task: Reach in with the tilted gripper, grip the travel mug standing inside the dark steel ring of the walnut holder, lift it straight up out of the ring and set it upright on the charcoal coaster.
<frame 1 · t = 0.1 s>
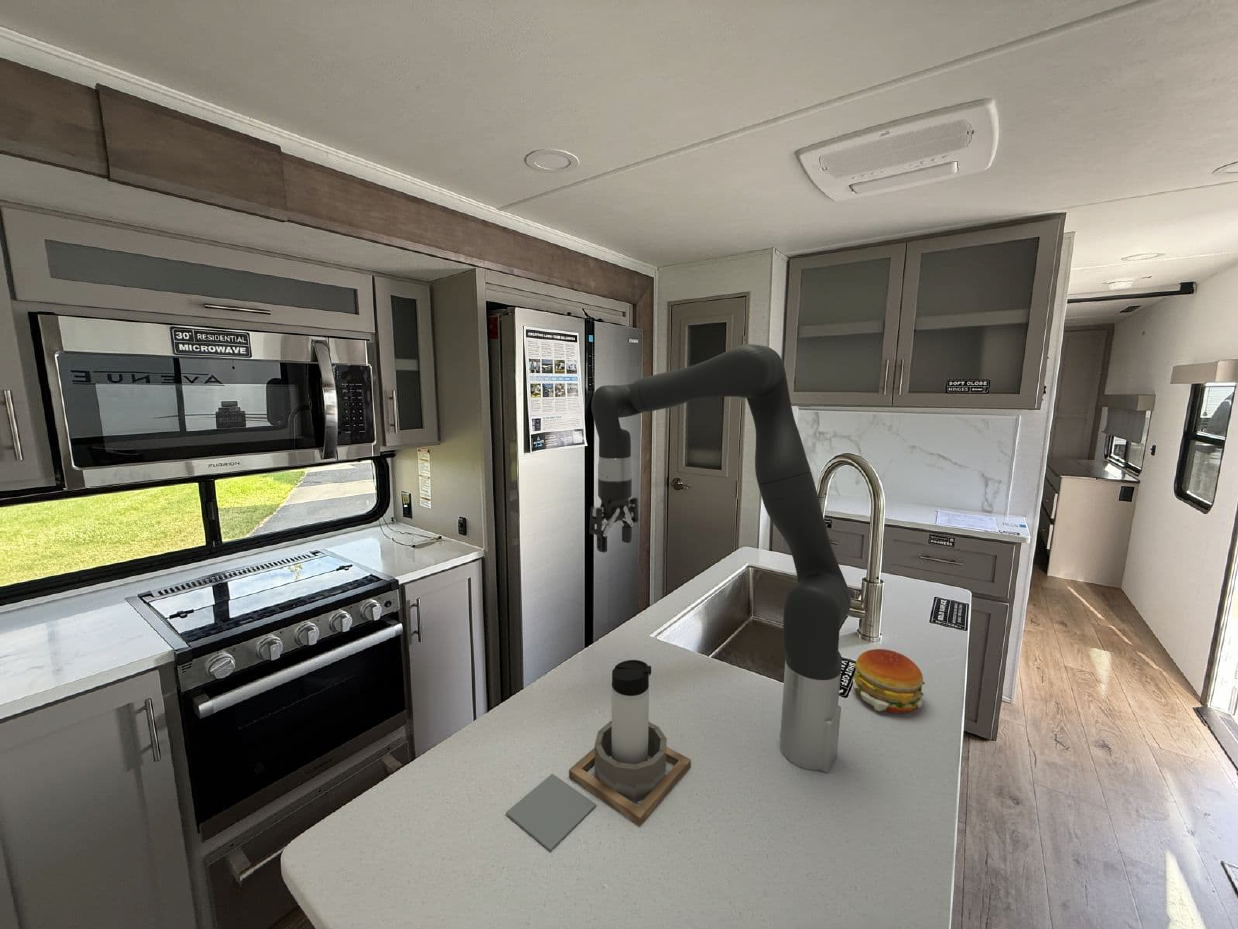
hand: (614, 546, 114), 29 cm above the worktop, tool pointing down, fingers open, 8 cm apart
travel mug: (630, 773, 87), resting in ring holder
burger: (885, 700, 107), on the worktop
coaster: (551, 810, 79), on the worktop
ring holder: (630, 772, 87), on the worktop
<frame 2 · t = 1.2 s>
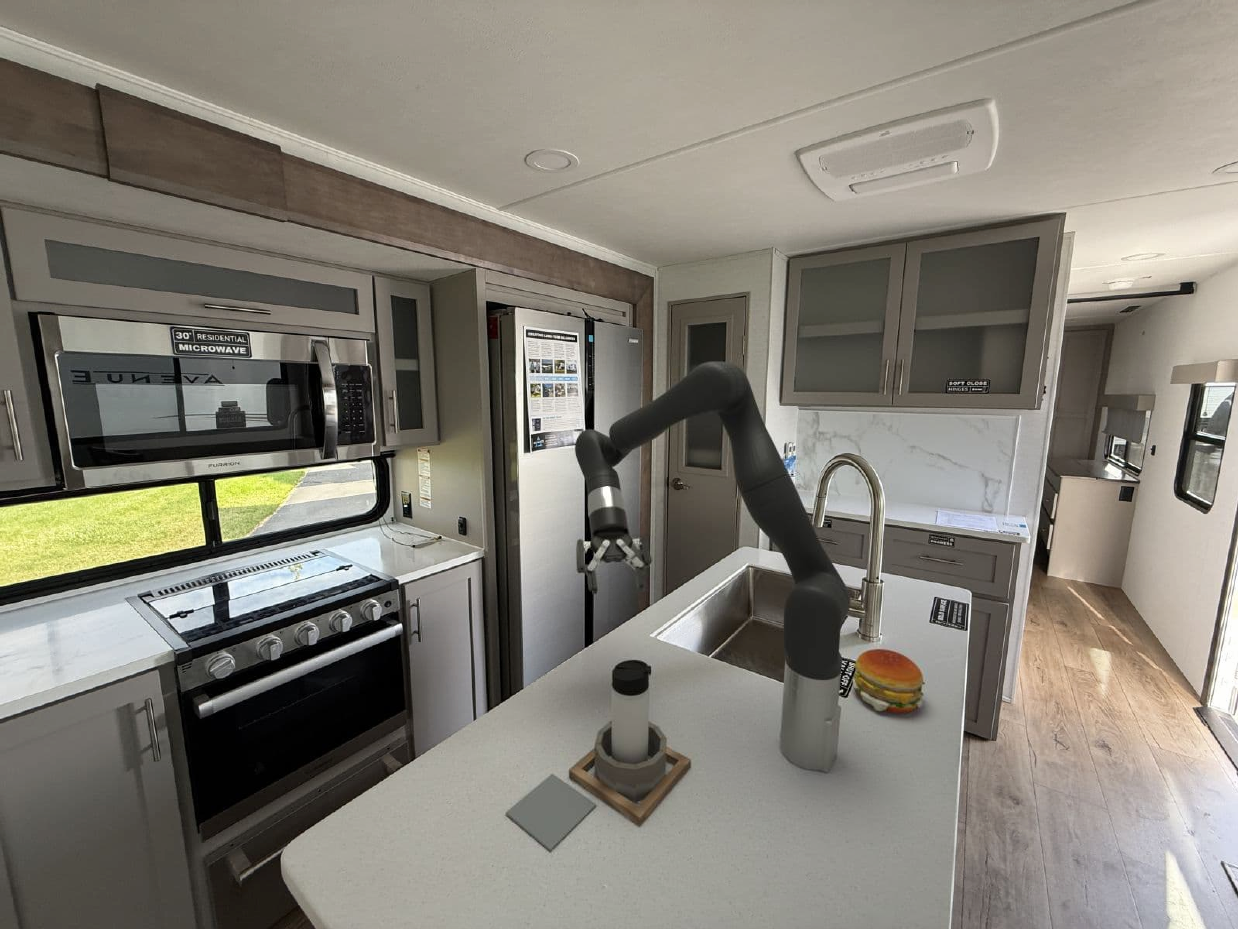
hand: (618, 590, 93), 28 cm above the worktop, tool tilted 45°, fingers open, 8 cm apart
nothing on the worktop moved.
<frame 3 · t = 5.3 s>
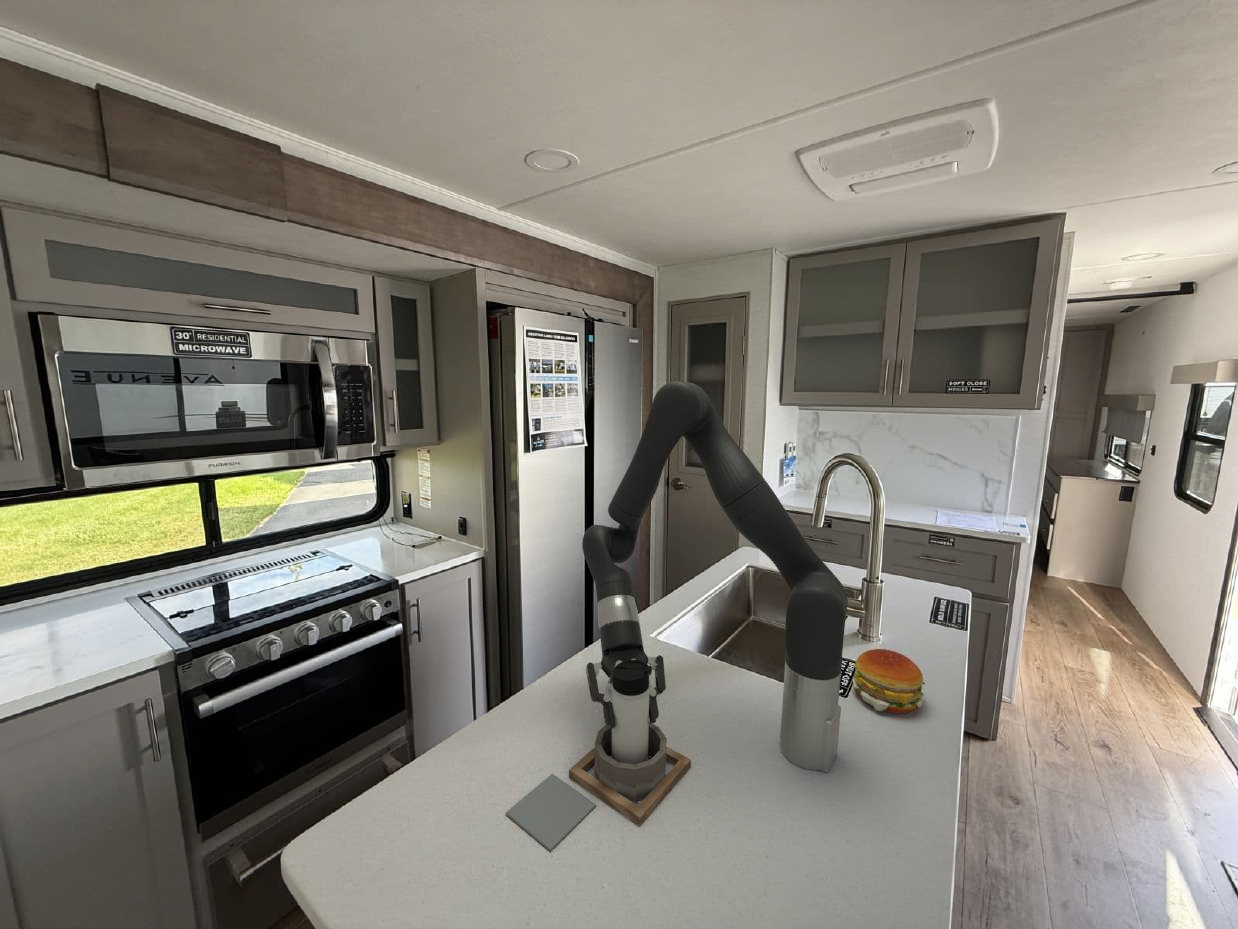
hand: (632, 725, 84), 10 cm above the worktop, tool tilted 45°, fingers closed on travel mug, 6 cm apart
travel mug: (630, 773, 87), resting in ring holder, touching gripper
everything else where it was.
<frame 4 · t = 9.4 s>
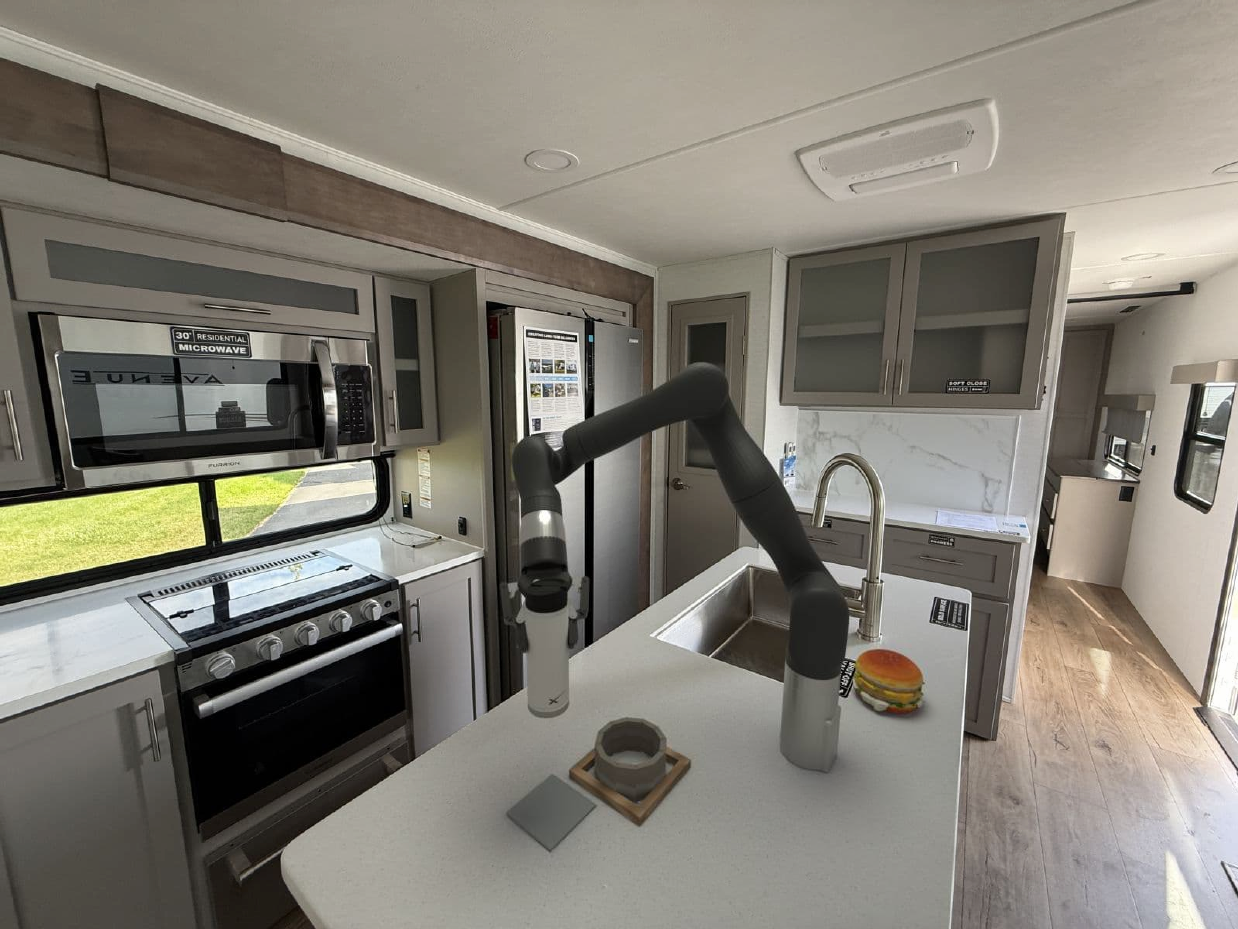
hand: (548, 649, 73), 28 cm above the worktop, tool tilted 45°, fingers closed on travel mug, 6 cm apart
travel mug: (549, 706, 77), point 18 cm above the worktop, touching gripper
everything else where it was.
when the fingers open (12 cm above the worktop, at t = 13.0 s): travel mug drops 1 cm, resting on coaster.
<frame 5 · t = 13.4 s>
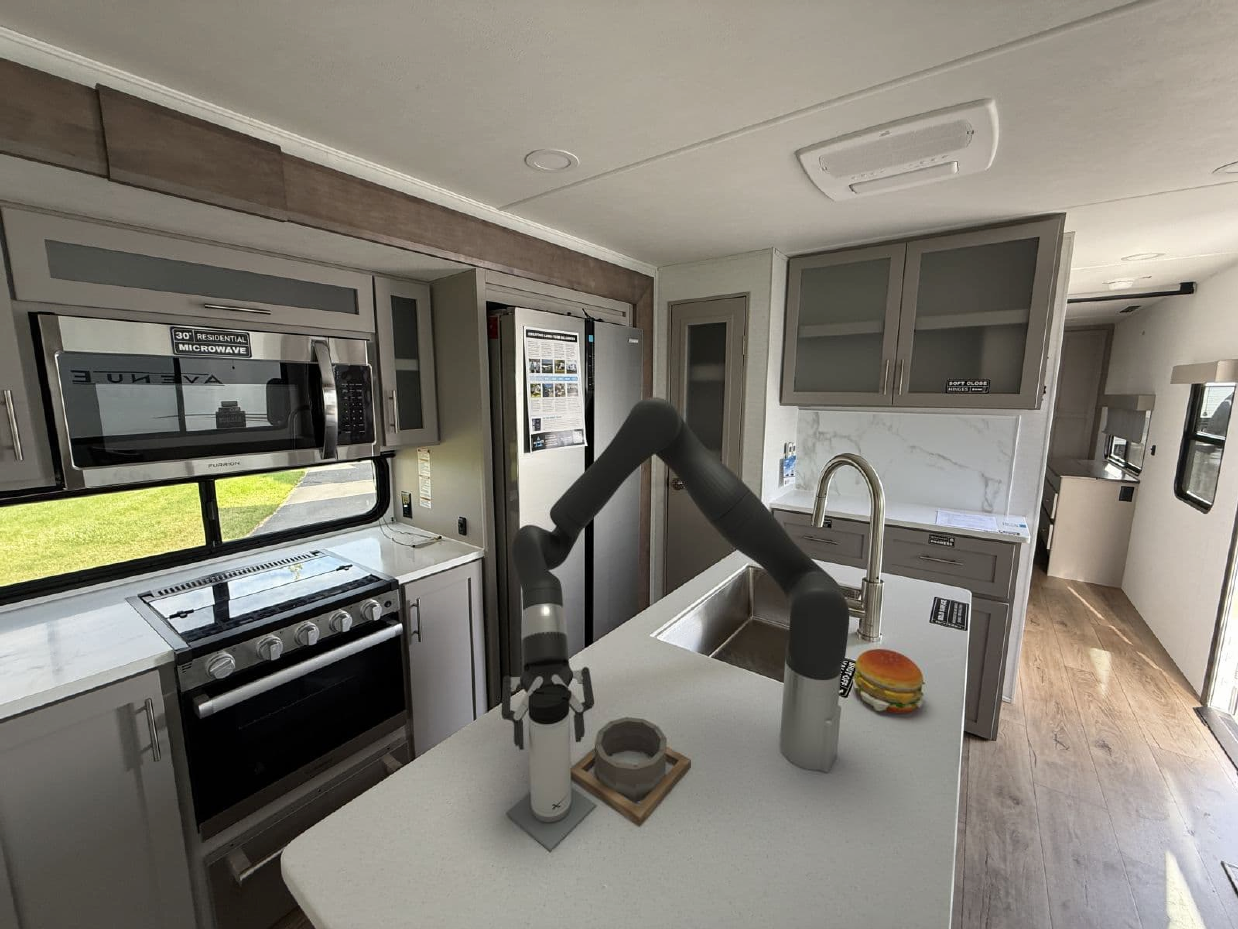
hand: (550, 745, 76), 13 cm above the worktop, tool tilted 45°, fingers open, 8 cm apart
travel mug: (552, 807, 80), resting on coaster
everything else where it was.
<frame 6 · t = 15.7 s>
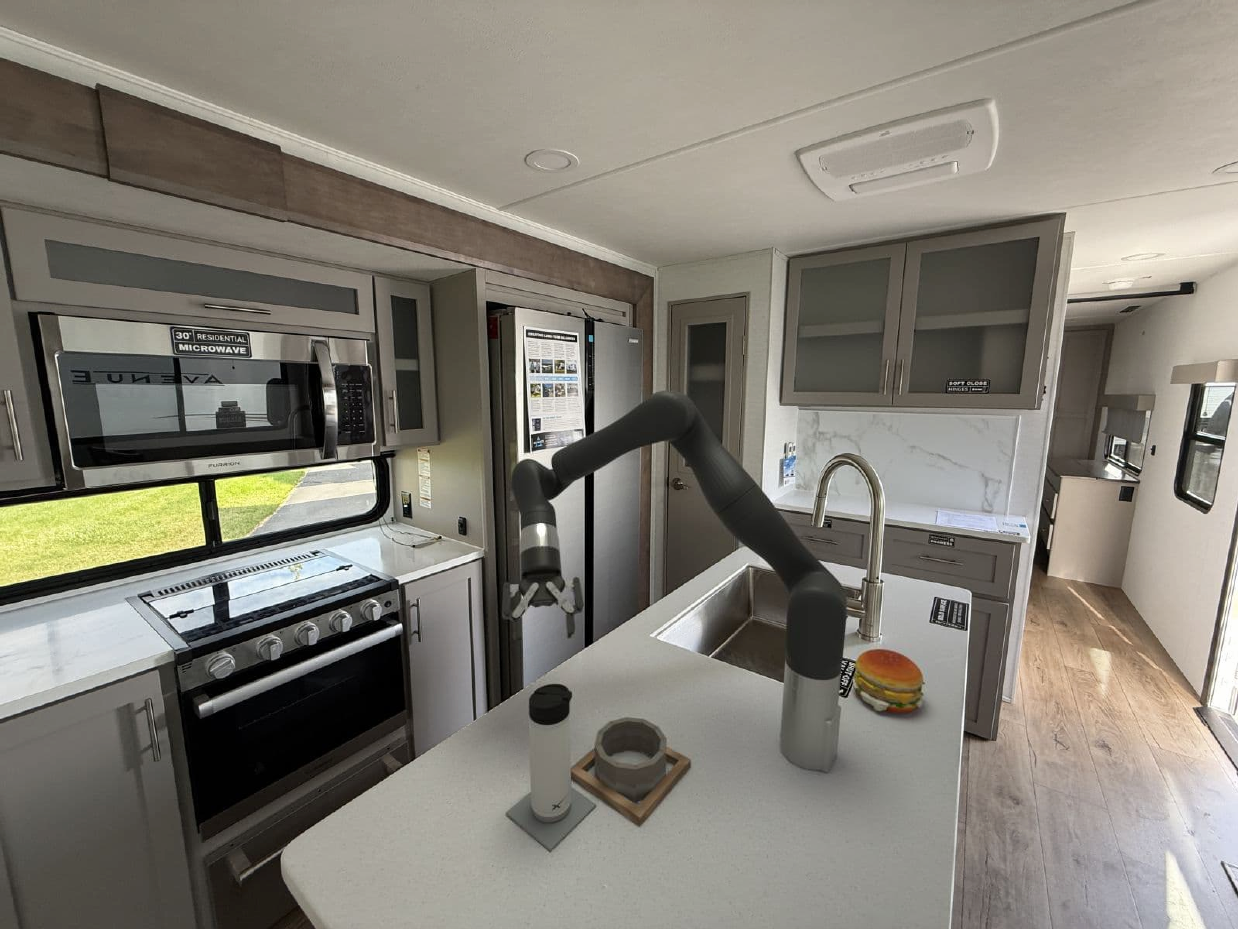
hand: (544, 639, 87), 23 cm above the worktop, tool tilted 45°, fingers open, 8 cm apart
nothing on the worktop moved.
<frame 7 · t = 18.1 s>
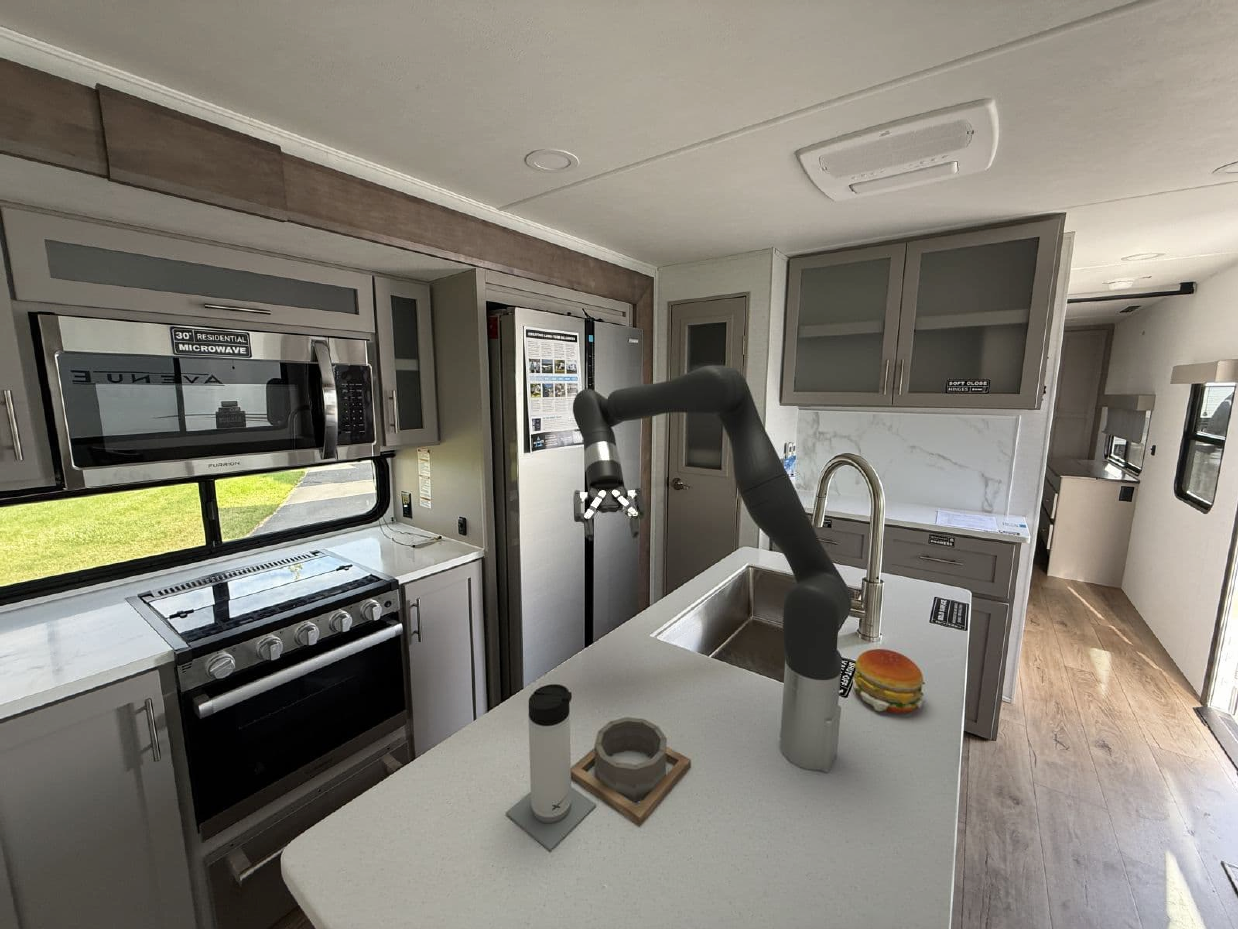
hand: (613, 537, 97), 37 cm above the worktop, tool tilted 45°, fingers open, 8 cm apart
nothing on the worktop moved.
at the end: travel mug inside the target area on the coaster (0.3 cm from its centre), point 0.2 cm above the coaster's base; travel mug tilted 0°; the gripper is holding nothing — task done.
